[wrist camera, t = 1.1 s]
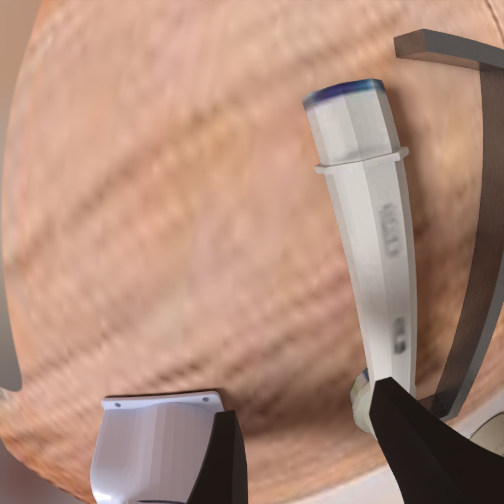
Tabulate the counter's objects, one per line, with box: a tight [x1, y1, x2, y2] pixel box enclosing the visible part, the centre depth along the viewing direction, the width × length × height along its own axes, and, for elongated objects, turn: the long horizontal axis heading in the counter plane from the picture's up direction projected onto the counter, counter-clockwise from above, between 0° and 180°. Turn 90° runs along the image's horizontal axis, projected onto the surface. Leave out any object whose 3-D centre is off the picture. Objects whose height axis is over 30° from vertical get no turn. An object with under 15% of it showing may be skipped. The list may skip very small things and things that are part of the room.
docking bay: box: [394, 29, 504, 422], centre depth 19 cm, size 8×31×3 cm, turn 7°
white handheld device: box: [302, 79, 417, 441], centre depth 18 cm, size 5×7×25 cm
